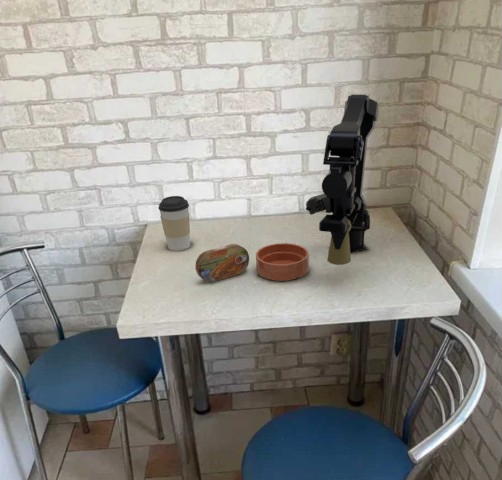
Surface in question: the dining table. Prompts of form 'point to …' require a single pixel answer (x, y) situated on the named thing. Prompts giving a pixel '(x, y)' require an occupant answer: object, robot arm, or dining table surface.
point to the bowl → (282, 261)
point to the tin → (222, 262)
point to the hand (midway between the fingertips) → (339, 245)
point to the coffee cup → (175, 222)
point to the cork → (340, 251)
